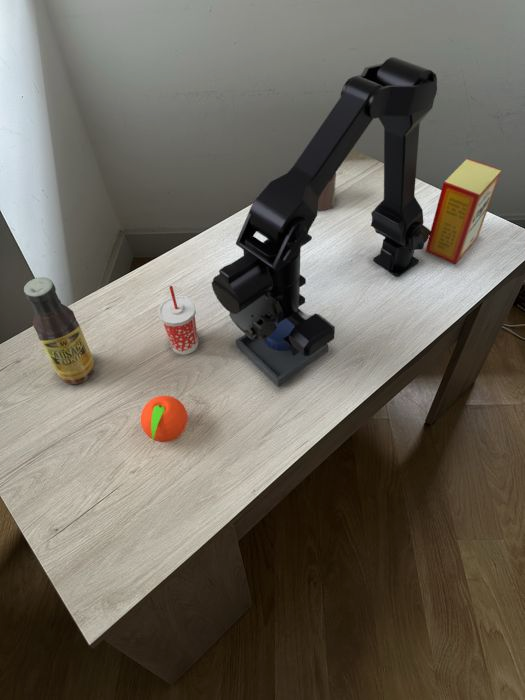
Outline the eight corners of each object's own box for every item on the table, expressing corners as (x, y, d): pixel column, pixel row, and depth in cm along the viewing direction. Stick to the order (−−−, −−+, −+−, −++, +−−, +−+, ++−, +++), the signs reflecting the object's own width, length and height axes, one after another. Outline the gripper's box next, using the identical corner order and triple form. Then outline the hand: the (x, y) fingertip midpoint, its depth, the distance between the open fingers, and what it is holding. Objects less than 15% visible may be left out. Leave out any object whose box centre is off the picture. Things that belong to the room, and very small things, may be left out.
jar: (317, 189, 117) (319, 153, 110) (339, 201, 115) (343, 164, 108) (298, 202, 115) (299, 166, 108) (321, 214, 112) (323, 178, 105)
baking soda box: (447, 226, 108) (468, 156, 95) (477, 239, 105) (502, 168, 92) (425, 251, 103) (443, 180, 91) (455, 264, 100) (479, 193, 88)
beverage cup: (179, 326, 93) (165, 268, 82) (209, 337, 92) (198, 279, 81) (161, 351, 90) (143, 294, 79) (191, 362, 88) (177, 306, 77)
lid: (280, 358, 84) (279, 349, 82) (254, 333, 87) (253, 324, 85) (311, 337, 86) (312, 328, 84) (285, 314, 90) (285, 304, 88)
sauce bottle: (64, 392, 86) (15, 310, 70) (56, 365, 89) (6, 282, 74) (103, 376, 87) (62, 293, 72) (93, 351, 91) (52, 266, 75)
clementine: (182, 459, 77) (173, 436, 71) (137, 453, 78) (126, 429, 72) (195, 414, 82) (188, 388, 76) (153, 408, 83) (144, 383, 77)
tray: (285, 315, 94) (285, 308, 93) (328, 351, 88) (328, 344, 87) (236, 346, 90) (235, 339, 89) (277, 387, 84) (277, 380, 83)
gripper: (198, 266, 77) (211, 334, 89) (279, 339, 68) (281, 403, 80) (256, 234, 81) (261, 303, 94) (340, 298, 72) (333, 365, 84)
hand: (281, 342), depth 88 cm, fingers closed on lid, 6 cm apart
